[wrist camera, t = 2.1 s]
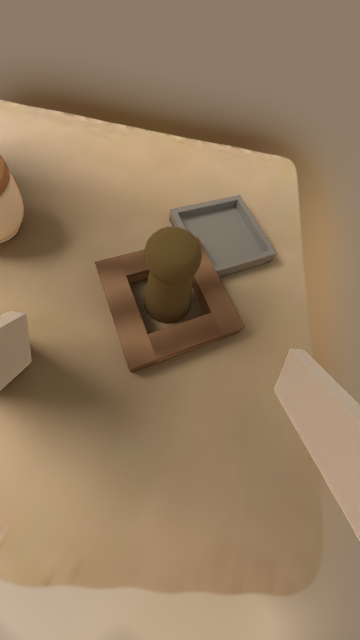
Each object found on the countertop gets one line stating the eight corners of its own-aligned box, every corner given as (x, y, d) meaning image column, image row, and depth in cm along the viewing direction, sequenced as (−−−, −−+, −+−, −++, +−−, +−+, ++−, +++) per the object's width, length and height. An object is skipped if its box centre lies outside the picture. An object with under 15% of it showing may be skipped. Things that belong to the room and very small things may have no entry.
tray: (169, 219, 34) (170, 209, 33) (235, 204, 37) (239, 195, 35) (200, 282, 31) (202, 275, 29) (271, 261, 33) (277, 253, 32)
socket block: (98, 271, 30) (94, 262, 28) (195, 246, 33) (197, 236, 31) (131, 372, 25) (129, 369, 23) (239, 332, 29) (244, 326, 27)
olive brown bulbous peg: (163, 273, 31) (168, 204, 20) (199, 298, 30) (223, 240, 20) (133, 304, 28) (122, 245, 18) (171, 332, 28) (182, 287, 17)
